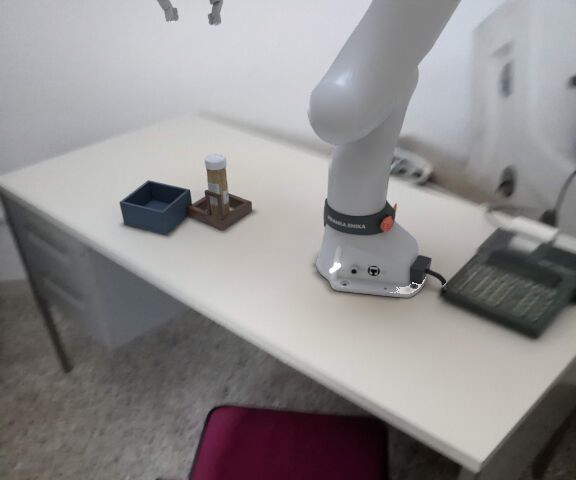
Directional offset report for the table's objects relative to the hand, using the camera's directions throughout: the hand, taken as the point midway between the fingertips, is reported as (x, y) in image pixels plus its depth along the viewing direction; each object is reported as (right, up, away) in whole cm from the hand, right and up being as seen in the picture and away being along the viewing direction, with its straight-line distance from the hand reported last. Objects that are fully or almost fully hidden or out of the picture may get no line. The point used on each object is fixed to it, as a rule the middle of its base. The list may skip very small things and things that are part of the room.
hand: (194, 22), depth 104 cm
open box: (-13, -25, +31) cm, 42 cm away
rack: (+1, -24, +32) cm, 40 cm away
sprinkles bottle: (+1, -24, +32) cm, 41 cm away
